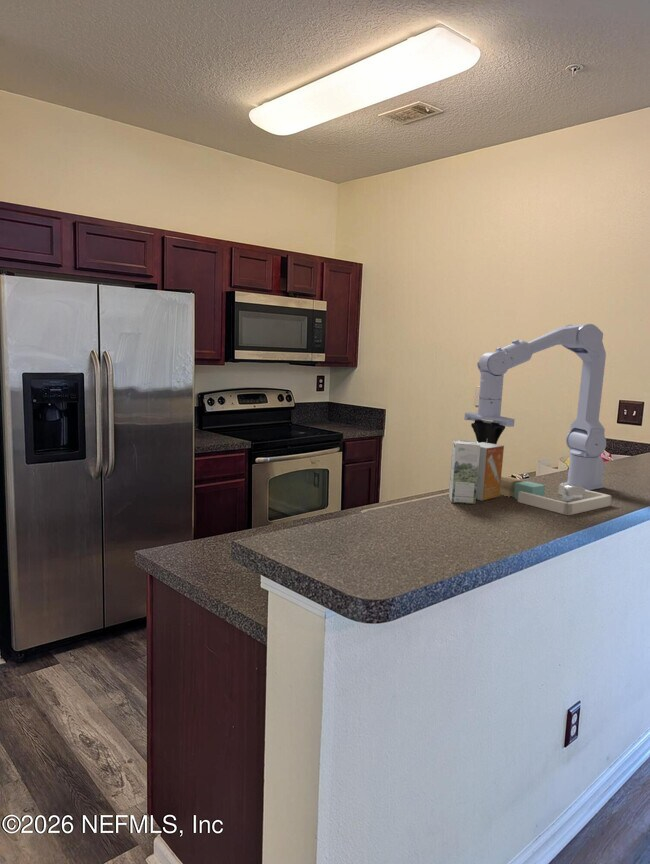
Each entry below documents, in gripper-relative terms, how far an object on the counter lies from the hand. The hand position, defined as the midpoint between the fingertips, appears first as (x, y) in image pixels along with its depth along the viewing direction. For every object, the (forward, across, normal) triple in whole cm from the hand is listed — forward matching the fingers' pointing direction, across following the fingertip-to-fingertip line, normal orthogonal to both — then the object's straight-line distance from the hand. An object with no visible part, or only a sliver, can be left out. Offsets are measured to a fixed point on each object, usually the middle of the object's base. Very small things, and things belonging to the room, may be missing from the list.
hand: (486, 450), depth 160 cm
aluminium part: (+10, +21, +8) cm, 24 cm away
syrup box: (+10, +7, -17) cm, 21 cm away
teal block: (+10, +14, 0) cm, 17 cm away
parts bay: (+10, +21, +4) cm, 24 cm away
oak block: (+10, +8, 0) cm, 13 cm away
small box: (+10, +6, -9) cm, 15 cm away
